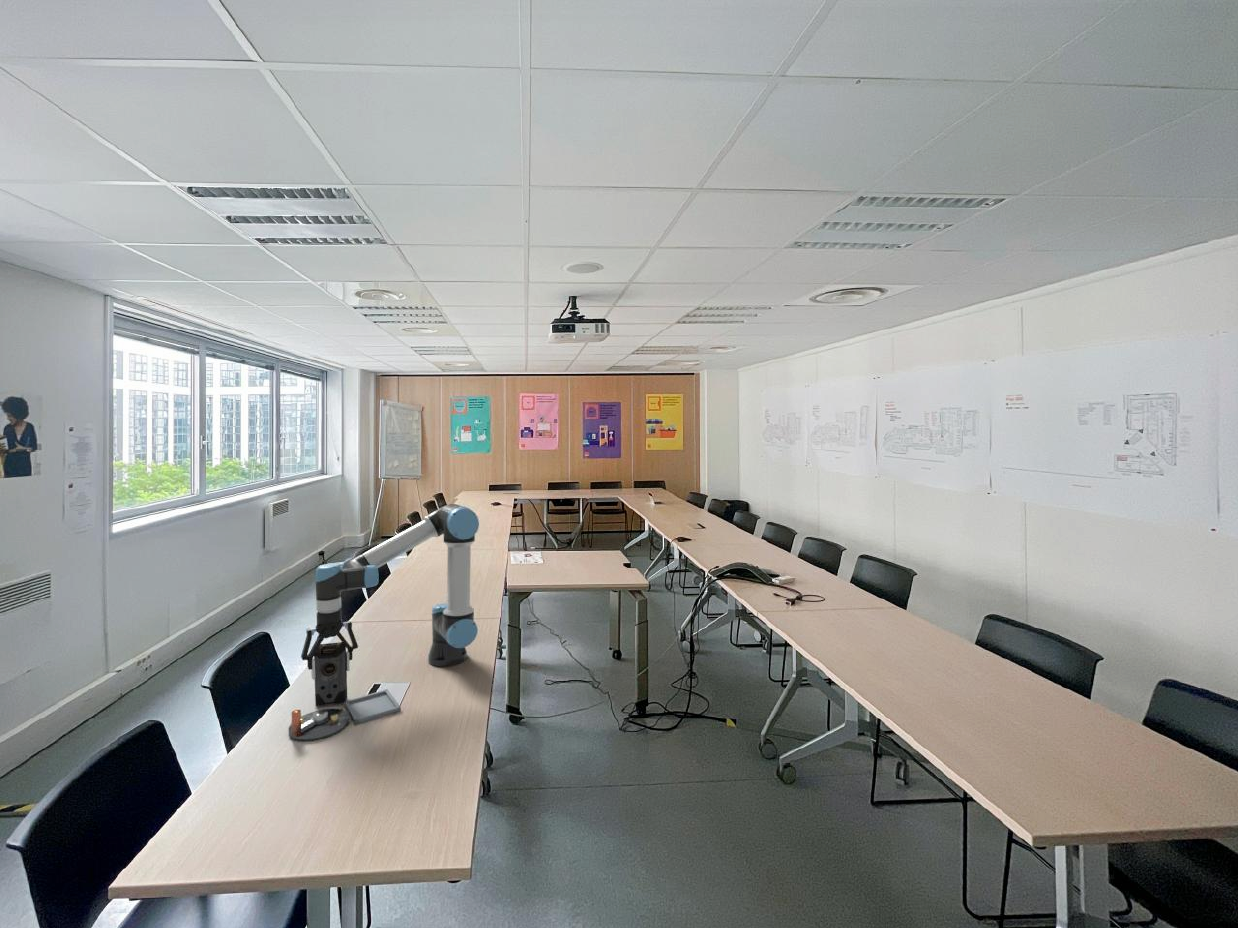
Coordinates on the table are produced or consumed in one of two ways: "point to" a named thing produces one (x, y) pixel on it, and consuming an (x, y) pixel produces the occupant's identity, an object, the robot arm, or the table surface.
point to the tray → (372, 706)
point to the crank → (316, 719)
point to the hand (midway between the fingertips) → (330, 673)
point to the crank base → (323, 726)
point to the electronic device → (330, 675)
